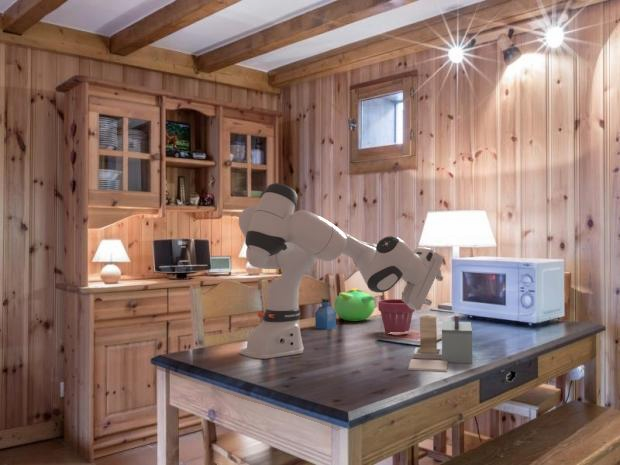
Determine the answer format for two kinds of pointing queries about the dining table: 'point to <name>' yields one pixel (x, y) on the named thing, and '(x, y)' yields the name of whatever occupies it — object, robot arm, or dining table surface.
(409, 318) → the plant pot
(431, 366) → the pad
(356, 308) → the green rounded piece
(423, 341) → the wooden block
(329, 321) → the perfume bottle
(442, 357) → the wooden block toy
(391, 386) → the dining table surface
